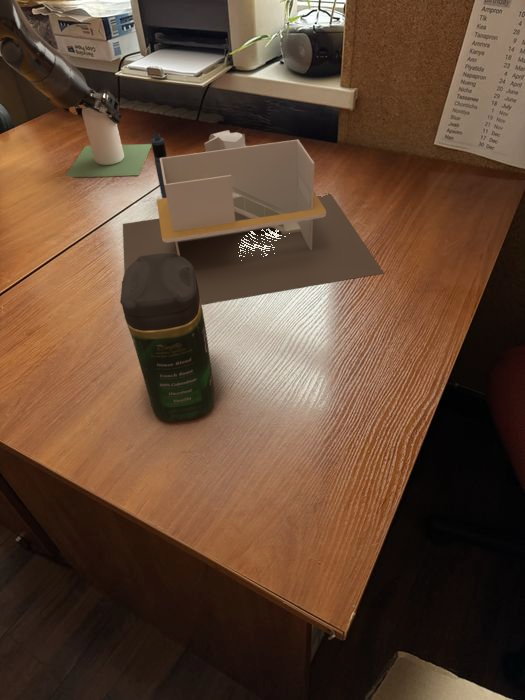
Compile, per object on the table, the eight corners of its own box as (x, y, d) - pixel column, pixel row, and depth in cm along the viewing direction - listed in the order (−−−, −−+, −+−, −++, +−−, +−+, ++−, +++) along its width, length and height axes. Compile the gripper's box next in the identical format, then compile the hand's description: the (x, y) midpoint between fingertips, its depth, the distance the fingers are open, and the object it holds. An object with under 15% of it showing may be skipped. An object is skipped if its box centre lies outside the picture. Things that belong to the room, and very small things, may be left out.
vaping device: (167, 191, 101) (156, 130, 93) (187, 198, 99) (177, 136, 90) (158, 196, 100) (146, 135, 91) (178, 203, 97) (167, 141, 89)
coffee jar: (219, 419, 60) (198, 297, 47) (152, 429, 59) (112, 308, 46) (212, 362, 66) (192, 241, 53) (152, 370, 66) (117, 250, 53)
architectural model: (170, 280, 80) (152, 193, 69) (164, 238, 89) (147, 154, 78) (326, 255, 83) (330, 167, 72) (304, 216, 92) (306, 133, 81)
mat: (64, 178, 108) (64, 177, 107) (85, 146, 119) (85, 146, 119) (138, 175, 107) (138, 175, 107) (152, 144, 118) (152, 143, 118)
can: (129, 160, 112) (116, 103, 103) (101, 169, 109) (86, 111, 101) (118, 151, 116) (104, 95, 107) (91, 159, 113) (75, 102, 105)
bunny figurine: (234, 123, 115) (264, 137, 104) (237, 146, 118) (266, 162, 107) (195, 132, 112) (222, 148, 101) (200, 156, 115) (226, 173, 104)
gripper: (92, 56, 90) (137, 103, 106) (24, 54, 93) (77, 99, 109) (85, 98, 90) (131, 138, 106) (17, 94, 93) (72, 133, 110)
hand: (103, 118), depth 108 cm, fingers closed on can, 6 cm apart
